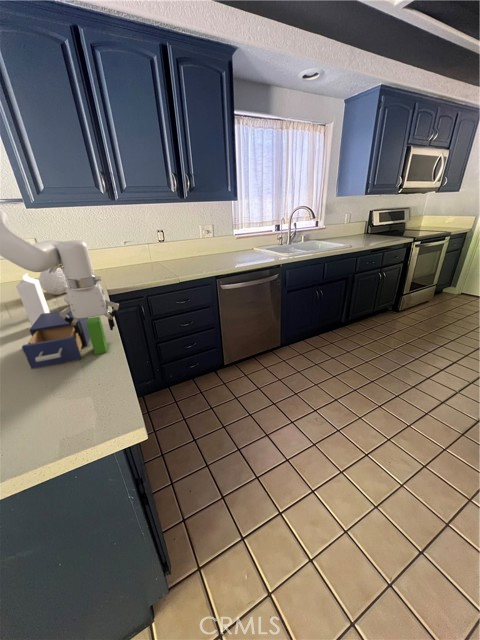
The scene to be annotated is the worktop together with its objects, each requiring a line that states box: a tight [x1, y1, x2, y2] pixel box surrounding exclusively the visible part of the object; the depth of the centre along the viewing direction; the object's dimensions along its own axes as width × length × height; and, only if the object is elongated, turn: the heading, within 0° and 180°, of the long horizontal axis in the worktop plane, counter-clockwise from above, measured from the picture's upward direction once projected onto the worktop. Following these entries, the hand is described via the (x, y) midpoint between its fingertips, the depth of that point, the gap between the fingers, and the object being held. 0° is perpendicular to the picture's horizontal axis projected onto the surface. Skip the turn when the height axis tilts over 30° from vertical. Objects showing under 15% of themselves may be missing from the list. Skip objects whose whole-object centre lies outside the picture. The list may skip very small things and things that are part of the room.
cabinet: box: [29, 310, 90, 348], centre depth 96 cm, size 15×15×10 cm
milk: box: [15, 272, 51, 327], centre depth 106 cm, size 6×6×22 cm
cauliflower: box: [38, 268, 68, 296], centre depth 151 cm, size 20×18×16 cm
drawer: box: [21, 325, 83, 370], centre depth 84 cm, size 18×13×8 cm
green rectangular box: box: [87, 316, 108, 355], centre depth 89 cm, size 4×6×11 cm, turn 22°
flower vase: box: [49, 264, 70, 305], centre depth 129 cm, size 13×18×25 cm
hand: (96, 331), depth 89 cm, fingers open, 9 cm apart
